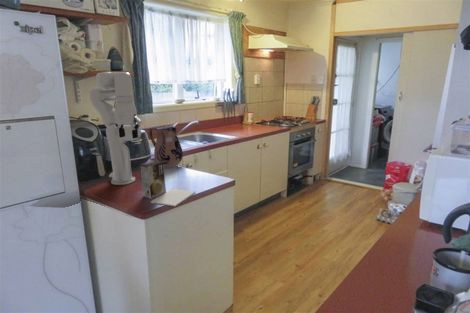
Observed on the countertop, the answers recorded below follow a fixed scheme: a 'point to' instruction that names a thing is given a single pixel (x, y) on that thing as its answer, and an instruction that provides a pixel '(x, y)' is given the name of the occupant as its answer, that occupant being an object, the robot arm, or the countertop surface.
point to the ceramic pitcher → (167, 146)
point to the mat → (173, 197)
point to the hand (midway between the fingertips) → (128, 137)
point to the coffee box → (153, 179)
